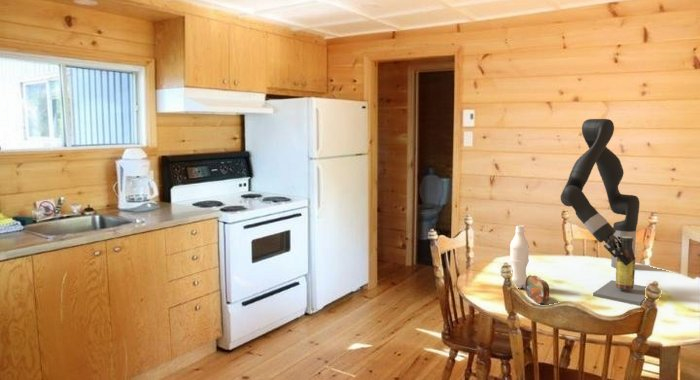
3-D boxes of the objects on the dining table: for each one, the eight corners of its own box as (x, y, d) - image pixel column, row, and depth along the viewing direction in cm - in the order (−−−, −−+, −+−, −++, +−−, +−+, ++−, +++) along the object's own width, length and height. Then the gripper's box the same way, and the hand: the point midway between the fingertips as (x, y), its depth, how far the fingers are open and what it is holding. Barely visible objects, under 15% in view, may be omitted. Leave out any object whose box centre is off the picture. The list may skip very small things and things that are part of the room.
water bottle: (527, 285, 208) (529, 224, 206) (527, 290, 202) (529, 228, 199) (509, 283, 211) (511, 223, 208) (508, 288, 204) (510, 227, 201)
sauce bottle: (636, 291, 193) (639, 239, 190) (618, 290, 194) (621, 238, 192) (630, 285, 199) (633, 235, 197) (612, 284, 201) (616, 235, 198)
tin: (524, 293, 198) (525, 272, 197) (532, 293, 198) (533, 272, 198) (542, 307, 183) (542, 284, 182) (550, 306, 184) (551, 283, 183)
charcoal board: (611, 283, 210) (611, 280, 210) (655, 291, 199) (655, 288, 199) (593, 296, 194) (593, 293, 194) (639, 305, 184) (640, 302, 183)
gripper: (601, 224, 194) (633, 260, 187) (613, 219, 204) (644, 253, 197) (585, 236, 198) (617, 271, 191) (598, 230, 208) (628, 264, 202)
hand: (630, 262), depth 194 cm, fingers closed on sauce bottle, 6 cm apart
